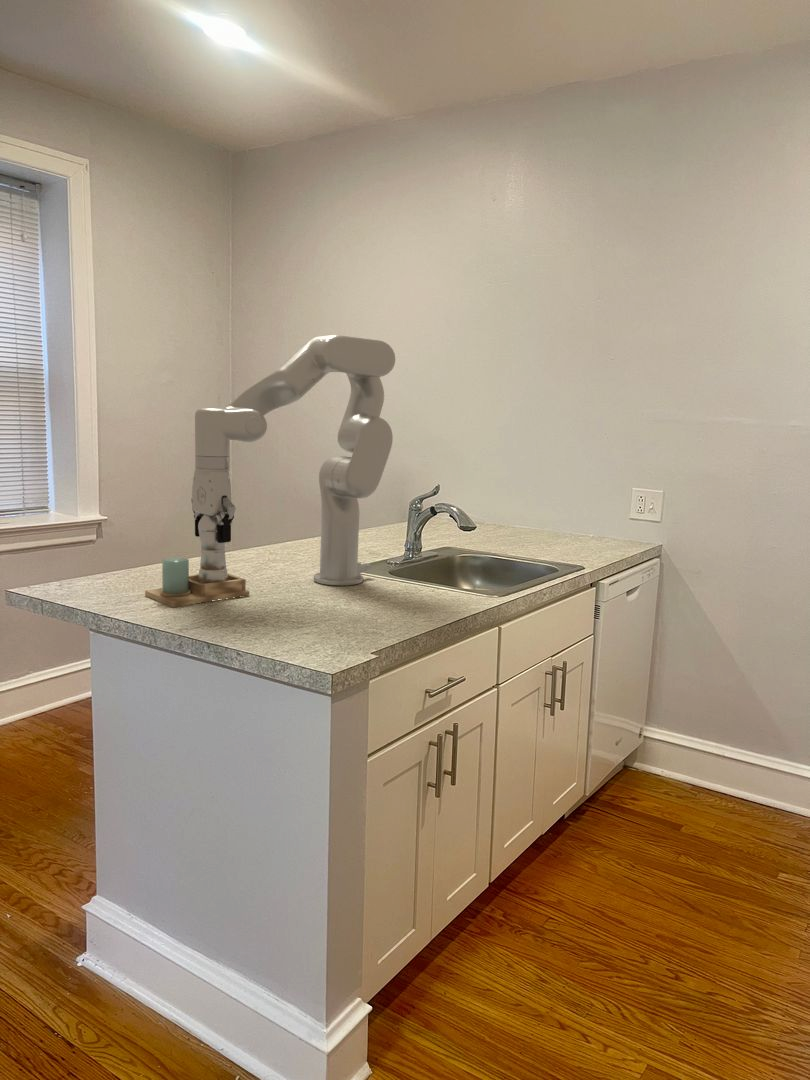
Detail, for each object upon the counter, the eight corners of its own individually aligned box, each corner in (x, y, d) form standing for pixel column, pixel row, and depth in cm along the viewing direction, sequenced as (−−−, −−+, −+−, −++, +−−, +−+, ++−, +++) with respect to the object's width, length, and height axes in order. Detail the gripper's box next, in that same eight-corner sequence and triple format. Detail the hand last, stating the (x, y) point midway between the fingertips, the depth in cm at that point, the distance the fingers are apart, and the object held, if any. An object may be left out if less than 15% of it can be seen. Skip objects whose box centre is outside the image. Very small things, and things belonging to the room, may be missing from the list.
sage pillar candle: (180, 587, 181) (180, 556, 180) (193, 591, 178) (193, 561, 176) (157, 590, 178) (157, 559, 176) (170, 595, 174) (170, 563, 173)
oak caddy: (219, 585, 193) (219, 570, 192) (249, 596, 184) (249, 580, 183) (145, 595, 180) (145, 579, 179) (173, 607, 171) (173, 590, 170)
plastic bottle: (221, 593, 180) (221, 504, 177) (193, 590, 181) (192, 503, 178) (232, 587, 186) (233, 501, 183) (205, 584, 188) (205, 500, 184)
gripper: (178, 461, 183) (178, 535, 186) (218, 467, 171) (218, 546, 173) (207, 460, 188) (207, 532, 191) (248, 466, 176) (247, 543, 179)
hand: (212, 539), depth 182 cm, fingers open, 9 cm apart
